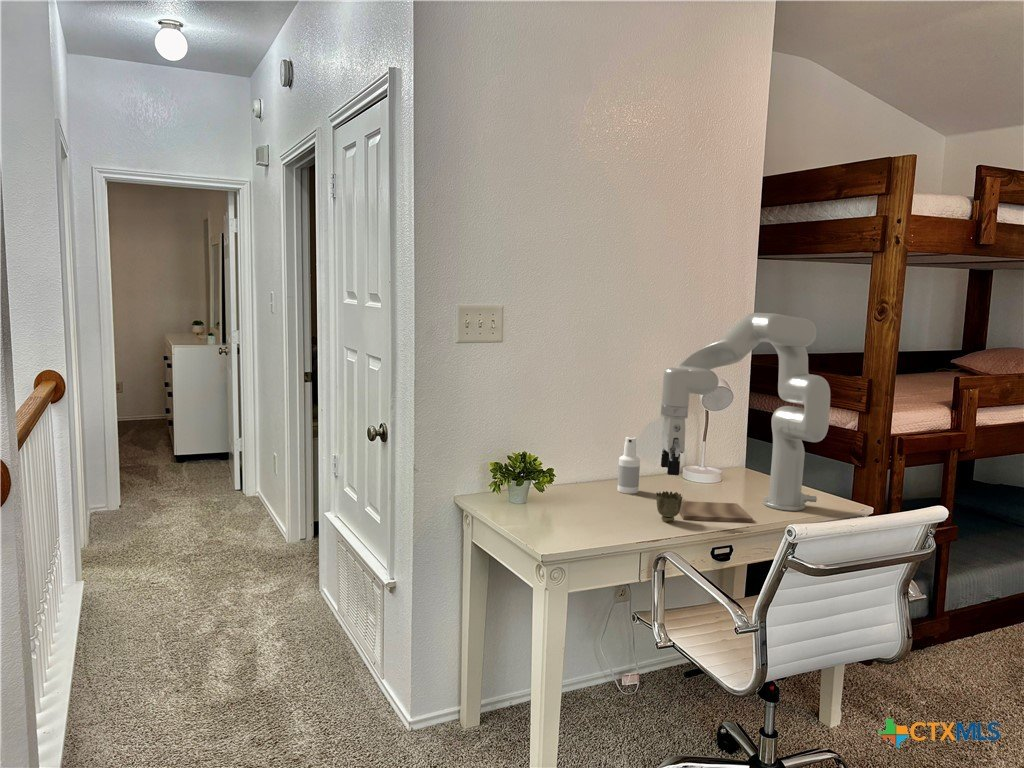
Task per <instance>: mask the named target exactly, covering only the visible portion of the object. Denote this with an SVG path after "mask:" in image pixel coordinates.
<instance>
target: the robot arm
mask: <svg viewBox="0 0 1024 768" xmlns="http://www.w3.org/2000/svg"><path fill="white" fill-rule="evenodd" d="M816 327H817V326H816V325H815V323H814V322H813V321H812V320H810V319H808V318H803V317H796V316H792V315H791V316H790V315H785V314H779V313H770V312H769V313H767V312H752V313H748V314H746V316H745V317H743V318H742V319H741V320H740V321H739V322H738V323H737V324H735V326H734V327H732V328H731V329H730V330H729V331H728V332H727V333H726V334H725V335H724V336H723V337H721V338H720V339H719V340H717V341H715V342H712V343H710V344H708V345H706V346H704V347H702V348H700V349H698V350H696V351H694V352H693V353H691V354H690V355H689V356H687V357H686V358H684V359H683V360H682V362H680V364H679V365H677V367H668V368H666V369H665V370H664V372H663V383H662V393H661V394H662V395H661V407H660V417H662V418H663V423H662V431H661V432H662V433H661V446H662V449H661V450H662V451H661V456H660V457H661V458H660V460H661V461H660V467H661V468H667V475H669V476H680V467H681V454H684V453H685V450H686V449H685V444H686V419H688V416H689V404H690V395H691V394H694V395H698V396H699V395H700V396H708V395H711V394H713V393H714V392H715V391H716V390H717V389H718V387H719V377H718V376H717V374H716V373H715V372H714V371H712V370H713V369H715V368H716V369H717V368H720V367H725V366H730V365H734V364H737V363H740V362H741V361H742V360H743V359H744V358H746V357H747V356H748V354H750V353H751V351H753V350H754V349H755V348H756V347H757V346H759V344H761V343H770V344H771V345H772V347H773V349H775V351H776V353H777V356H778V382H777V392H778V396H779V397H780V398H779V399H781V400H783V401H785V402H788V403H792V404H797V405H803V407H797V406H791V405H783V406H780V407H778V408H777V409H775V410H774V412H773V414H772V416H771V432H772V452H771V453H772V455H771V468H770V478H769V490H768V492H769V493H768V496H767V497H764V498H763V501H762V504H764V505H765V506H766V507H768V508H772V509H776V510H780V511H781V510H782V511H792V512H793V511H796V512H797V511H803V510H805V509H806V503H807V502H809V503H817V500H818V499H817V495H810V494H805V493H803V491H802V488H803V478H804V466H805V455H806V453H805V452H806V451H805V446H804V443H803V441H805V442H810V443H819V442H821V441H823V439H825V437H826V436H827V433H828V430H829V425H830V409H831V388H830V384H829V382H828V381H827V379H825V377H823V376H821V375H817V374H812V373H811V374H810V373H809V355H808V351H807V349H806V347H808V346H810V345H812V344H813V343H814V342H815V340H816V338H817V332H818V331H817V328H816Z"/></svg>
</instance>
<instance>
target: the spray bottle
mask: <svg viewBox="0 0 1024 768" xmlns="http://www.w3.org/2000/svg"><path fill="white" fill-rule="evenodd" d="M623 448H624V449H623V455H621V456H619V457H618V474H617V489H616V490H617V491H618V492H619V493H622V494H626V495H627V494H628V495H633V494H638V493H639V485H640V484H639V483H640V466H641V459H640V457H638V456H637V437H628V436H626V437H625V441H624V446H623Z"/></svg>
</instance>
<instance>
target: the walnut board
mask: <svg viewBox="0 0 1024 768" xmlns="http://www.w3.org/2000/svg"><path fill="white" fill-rule="evenodd" d="M678 515H680V517H681V518H682V519H683V521H684V520H685V521H705V522H706V521H707V522H726V523H729V522H730V523H731V522H732V523H733V522H734V523H753V522H754V521H753V520H754V518H753V517H752V516H751V515H750V514H749V513H748V512H747V511H746V510H745V509H744V508H743V507H742V506H740V504H739V503H736V502H735V503H733V502H712V501H711V502H708V501H691V500H690V501H686V500H682V503H681V508H680V511H679V513H678Z"/></svg>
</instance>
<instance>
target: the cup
mask: <svg viewBox="0 0 1024 768" xmlns="http://www.w3.org/2000/svg"><path fill="white" fill-rule="evenodd" d="M655 496H656V510H657V512H658V514H659V515H661V520H662V522H664V523H673V522H674V521H675V517H677V516H678V515H679V511H680V508H681V503H682V501H683V496H684V495H682V494H681V493H679V492H677V491H675V492H674V493H673V491H670V492H669V491H667V490H666V491H665V490H663V491H662V492H661V491H659V492H656V494H655Z"/></svg>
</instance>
